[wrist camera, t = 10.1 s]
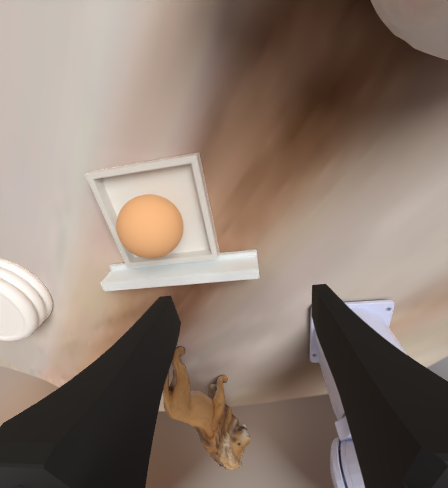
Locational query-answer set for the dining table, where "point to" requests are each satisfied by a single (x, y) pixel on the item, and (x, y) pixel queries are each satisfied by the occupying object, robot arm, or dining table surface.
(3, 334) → the coaster
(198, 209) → the tray
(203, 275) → the white picture ledge
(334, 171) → the dining table surface
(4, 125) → the dining table surface
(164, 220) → the ball
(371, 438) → the robot arm
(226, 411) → the lion figurine
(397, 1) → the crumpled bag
